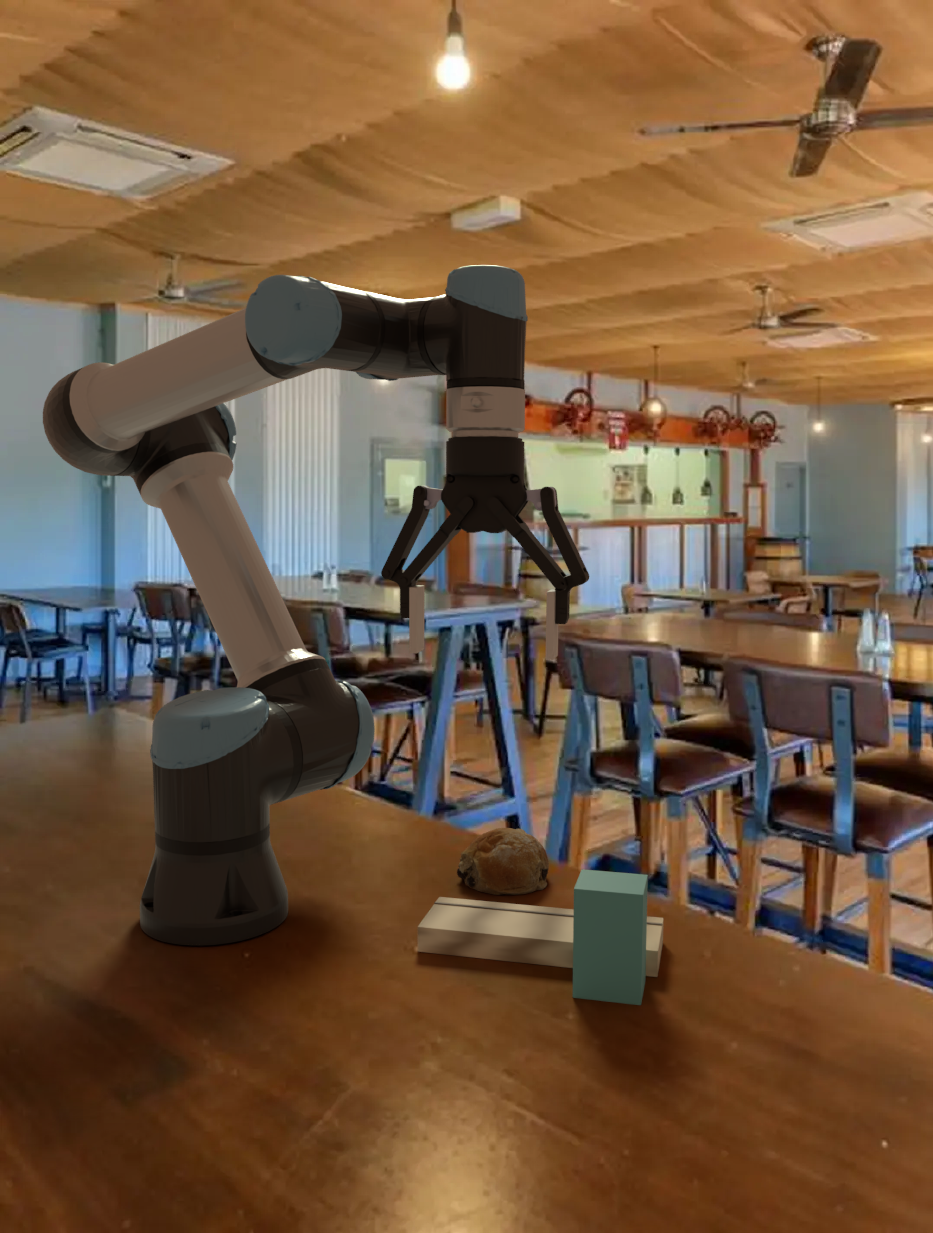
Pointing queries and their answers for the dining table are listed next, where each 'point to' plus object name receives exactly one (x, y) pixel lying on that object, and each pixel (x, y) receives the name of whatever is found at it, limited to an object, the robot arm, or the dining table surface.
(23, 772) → the dining table surface
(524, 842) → the bread roll
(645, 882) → the teal boxy piece
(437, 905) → the plank
